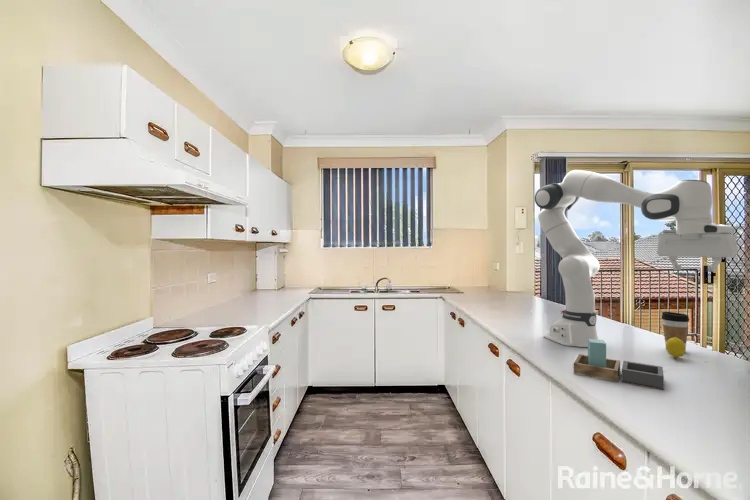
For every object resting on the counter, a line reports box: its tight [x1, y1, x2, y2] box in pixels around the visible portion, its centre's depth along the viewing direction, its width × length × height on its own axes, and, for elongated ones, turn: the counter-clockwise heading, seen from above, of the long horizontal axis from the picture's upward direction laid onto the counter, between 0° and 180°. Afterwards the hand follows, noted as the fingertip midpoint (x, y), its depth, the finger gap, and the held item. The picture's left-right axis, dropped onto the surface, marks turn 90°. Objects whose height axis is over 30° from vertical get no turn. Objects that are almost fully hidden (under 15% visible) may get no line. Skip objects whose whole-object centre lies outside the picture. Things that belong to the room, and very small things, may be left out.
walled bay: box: [573, 353, 621, 383], centre depth 115 cm, size 12×12×4 cm
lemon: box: [665, 337, 687, 359], centre depth 128 cm, size 6×6×8 cm
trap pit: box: [621, 360, 665, 391], centre depth 107 cm, size 10×10×4 cm
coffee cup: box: [661, 311, 690, 352], centre depth 137 cm, size 8×8×15 cm
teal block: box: [587, 339, 607, 368], centre depth 115 cm, size 4×4×10 cm
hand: (694, 270), depth 112 cm, fingers open, 8 cm apart
